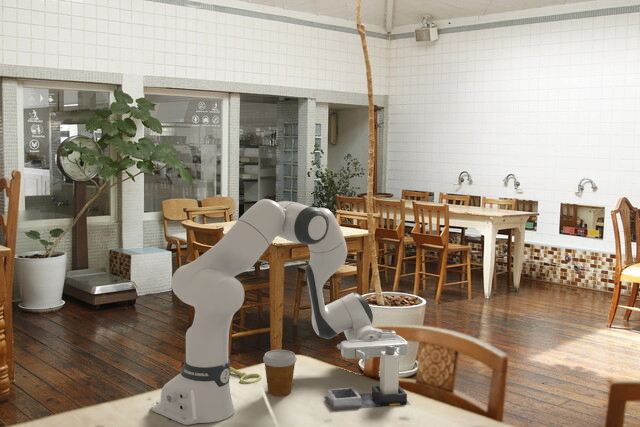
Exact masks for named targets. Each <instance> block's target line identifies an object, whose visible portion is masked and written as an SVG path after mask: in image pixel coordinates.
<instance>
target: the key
mask: <svg viewBox="0 0 640 427" xmlns="http://www.w3.org/2000/svg"><path fill="white" fill-rule="evenodd" d="M230 373H233V374H236V375H237V376H239V377H240V379H239V383H241V384H244V385H245V384H246V385H249V384H255V383H258V382H260V381H261V380H262V375H261V374H259V373H248V374H247V373H246V372H243V371H242V372H241V371H240V370H237V369H236V368H233V367H232V366H230ZM249 378H256V379H254V380H247V379H249Z"/></svg>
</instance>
